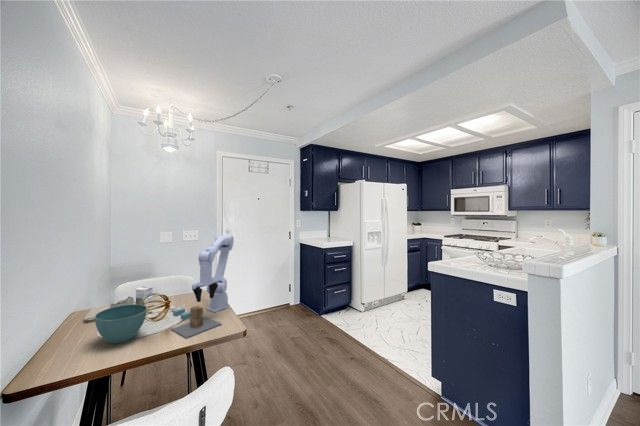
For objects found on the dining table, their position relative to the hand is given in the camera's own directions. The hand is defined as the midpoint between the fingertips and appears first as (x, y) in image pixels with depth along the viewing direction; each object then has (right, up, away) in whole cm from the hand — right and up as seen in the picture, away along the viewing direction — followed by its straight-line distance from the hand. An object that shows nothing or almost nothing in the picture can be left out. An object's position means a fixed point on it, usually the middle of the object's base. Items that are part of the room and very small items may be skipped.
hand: (205, 299), depth 136 cm
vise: (-17, -10, +5) cm, 20 cm away
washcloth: (-57, -10, +2) cm, 58 cm away
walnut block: (0, -10, -9) cm, 14 cm away
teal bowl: (-27, -10, -23) cm, 36 cm away
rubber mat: (0, -10, -10) cm, 14 cm away
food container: (-41, -10, -2) cm, 42 cm away
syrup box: (-36, -10, +6) cm, 38 cm away
